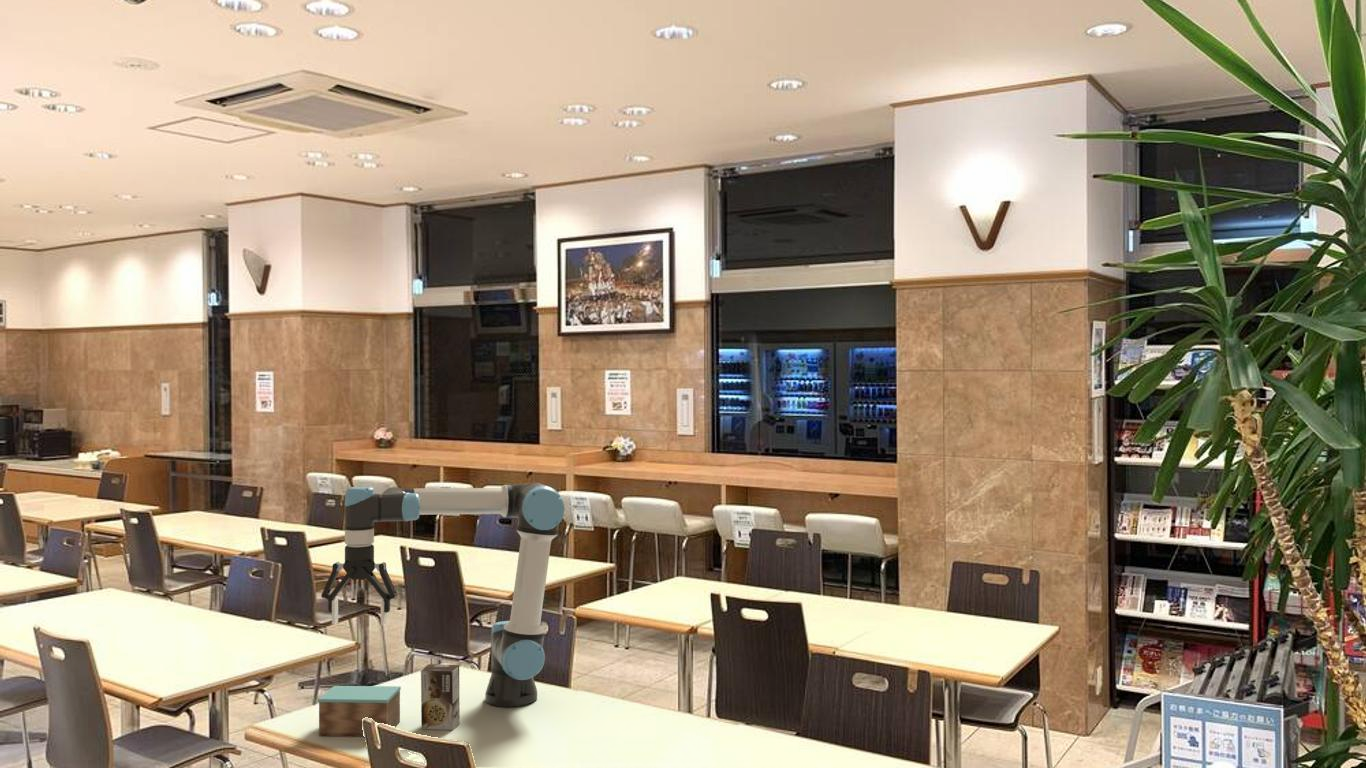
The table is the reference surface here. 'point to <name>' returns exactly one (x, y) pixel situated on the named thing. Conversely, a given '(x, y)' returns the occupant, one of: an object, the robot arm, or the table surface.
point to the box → (355, 716)
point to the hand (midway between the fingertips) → (359, 624)
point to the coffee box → (440, 697)
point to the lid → (360, 694)
